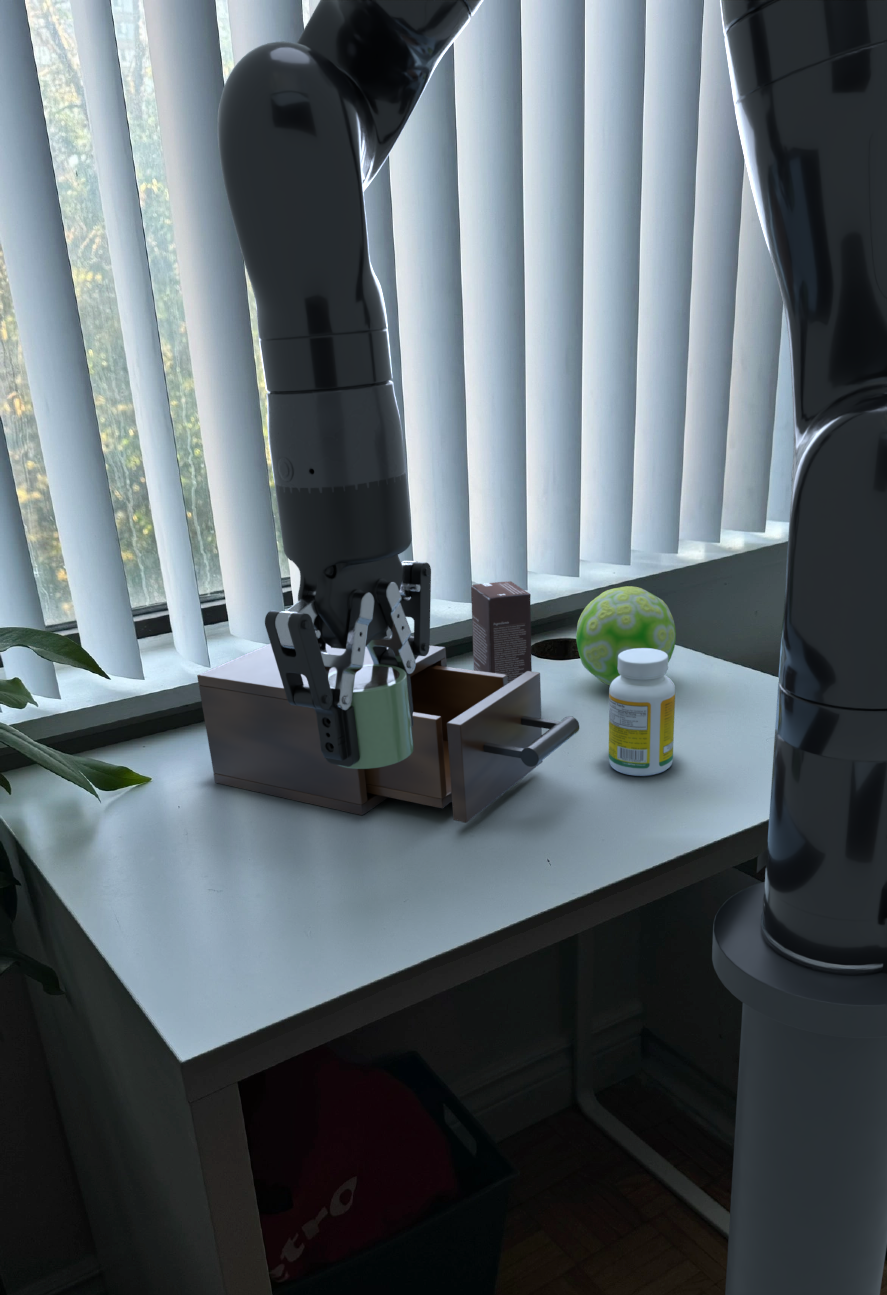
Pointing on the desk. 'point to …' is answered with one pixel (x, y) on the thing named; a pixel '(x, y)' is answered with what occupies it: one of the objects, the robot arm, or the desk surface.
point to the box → (501, 629)
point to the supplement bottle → (641, 713)
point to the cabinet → (278, 734)
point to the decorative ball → (622, 629)
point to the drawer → (470, 739)
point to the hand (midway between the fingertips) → (371, 744)
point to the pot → (381, 715)
